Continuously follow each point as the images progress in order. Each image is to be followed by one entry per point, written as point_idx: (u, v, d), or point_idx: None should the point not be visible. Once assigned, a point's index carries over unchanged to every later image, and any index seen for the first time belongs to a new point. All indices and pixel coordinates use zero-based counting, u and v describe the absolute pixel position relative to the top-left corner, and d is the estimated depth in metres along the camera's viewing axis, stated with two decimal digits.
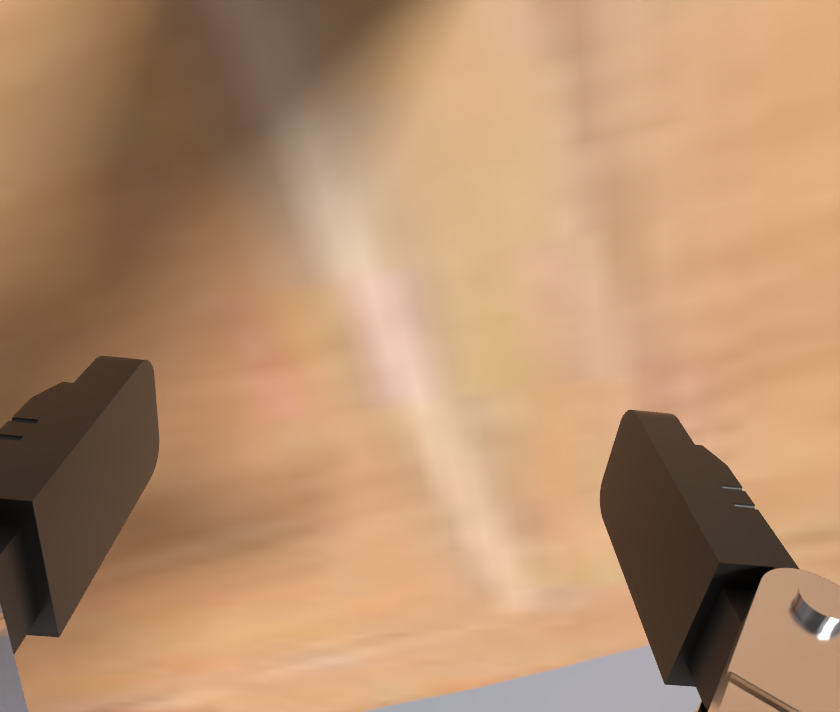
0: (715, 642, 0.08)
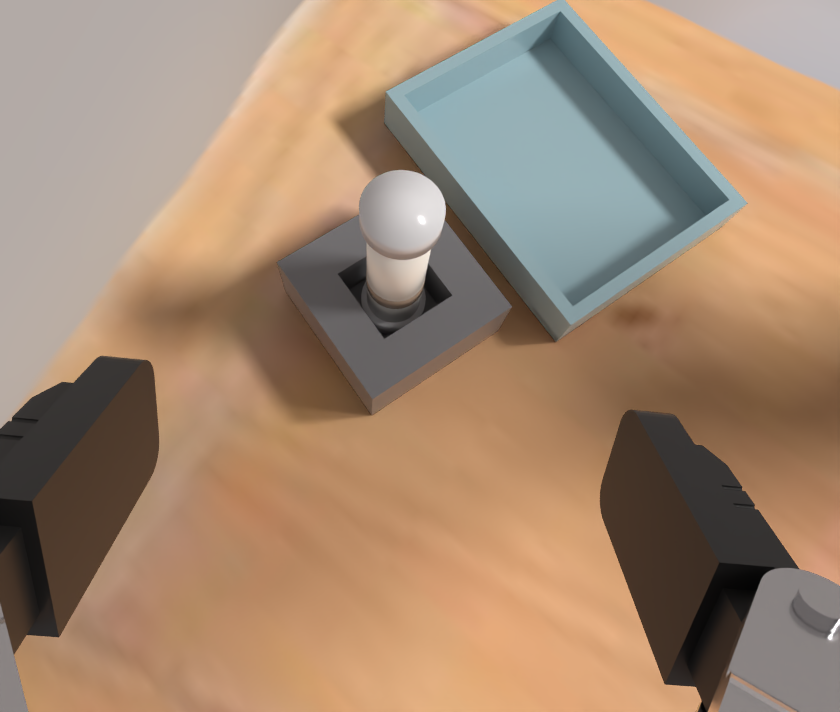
0: (715, 642, 0.08)
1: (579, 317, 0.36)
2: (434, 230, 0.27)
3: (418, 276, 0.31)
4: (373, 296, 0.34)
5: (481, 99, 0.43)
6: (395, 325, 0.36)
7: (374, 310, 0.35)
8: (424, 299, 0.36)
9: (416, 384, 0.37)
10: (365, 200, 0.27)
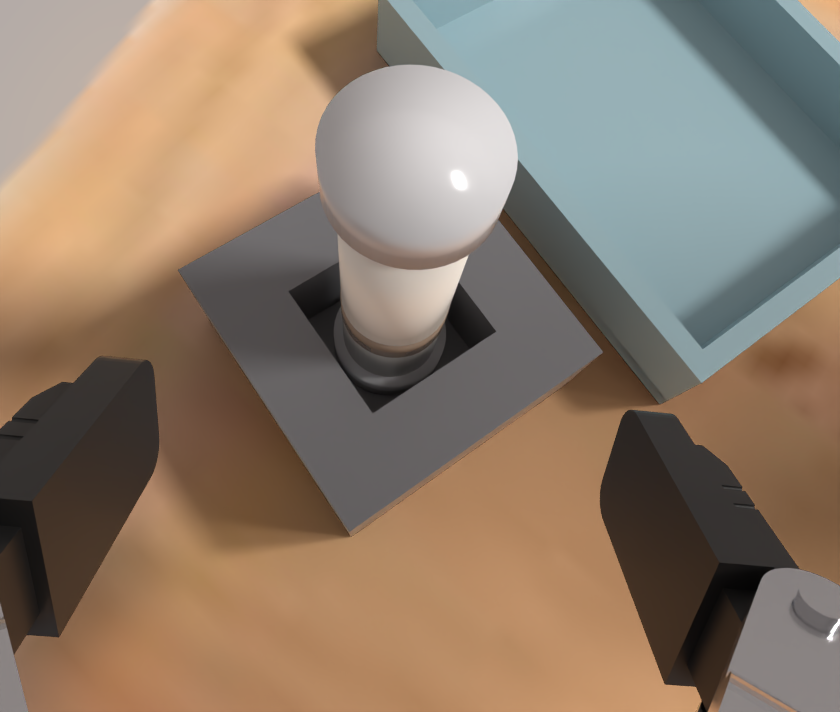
0: (715, 642, 0.08)
1: (715, 369, 0.21)
2: (492, 201, 0.11)
3: (442, 301, 0.15)
4: (353, 334, 0.18)
5: (529, 15, 0.27)
6: (393, 382, 0.20)
7: (356, 356, 0.20)
8: (444, 335, 0.21)
9: (428, 481, 0.21)
10: (330, 129, 0.11)
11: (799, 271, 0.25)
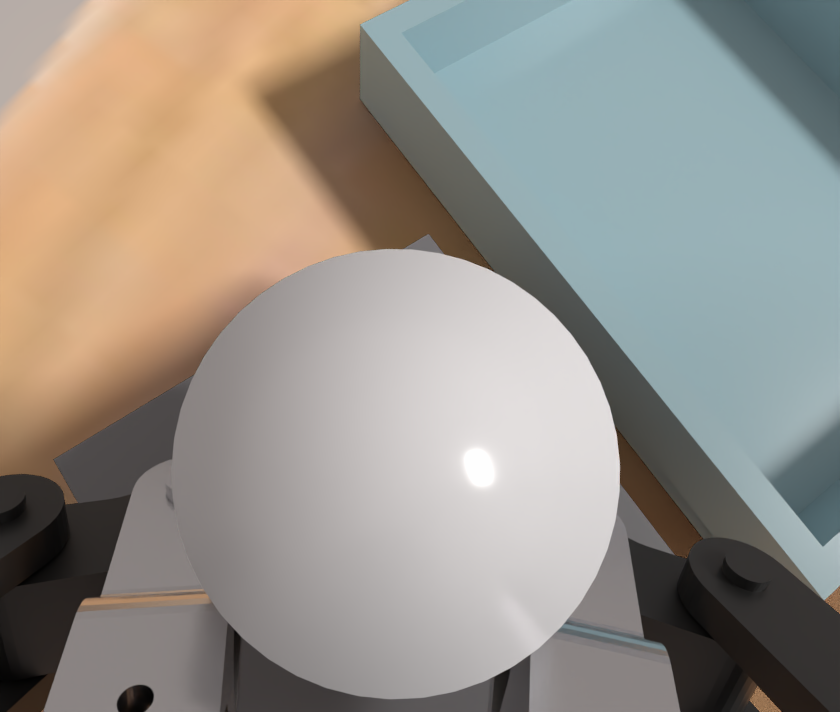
0: None
1: None
2: (570, 581, 0.05)
3: None
4: None
5: (559, 52, 0.21)
6: None
7: None
8: None
9: None
10: (209, 413, 0.05)
11: None
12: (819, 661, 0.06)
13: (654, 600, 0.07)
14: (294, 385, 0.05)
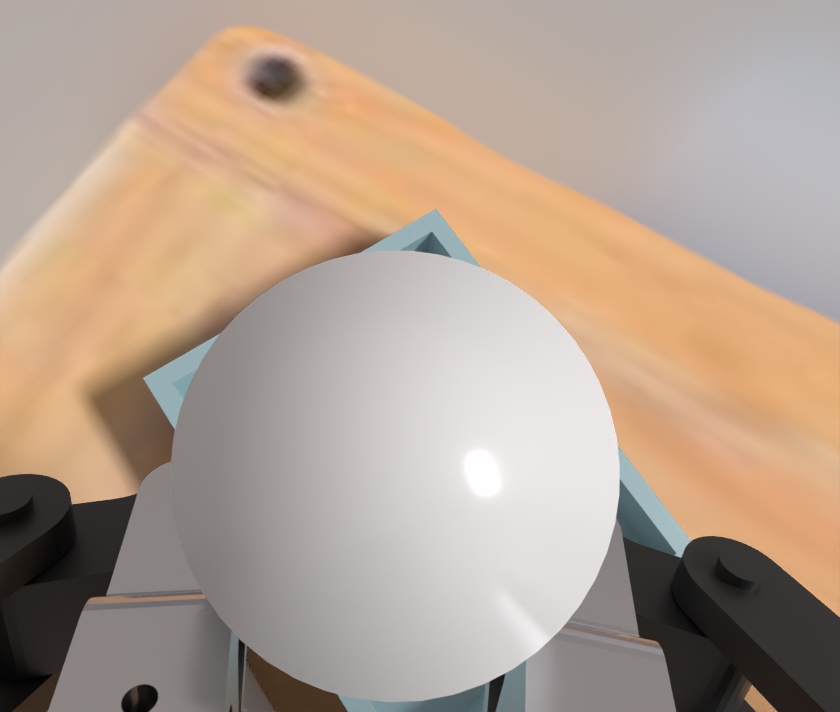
0: None
1: None
2: (570, 584, 0.05)
3: None
4: None
5: None
6: None
7: None
8: None
9: None
10: (208, 415, 0.05)
11: None
12: (813, 659, 0.06)
13: (648, 599, 0.07)
14: (293, 387, 0.05)
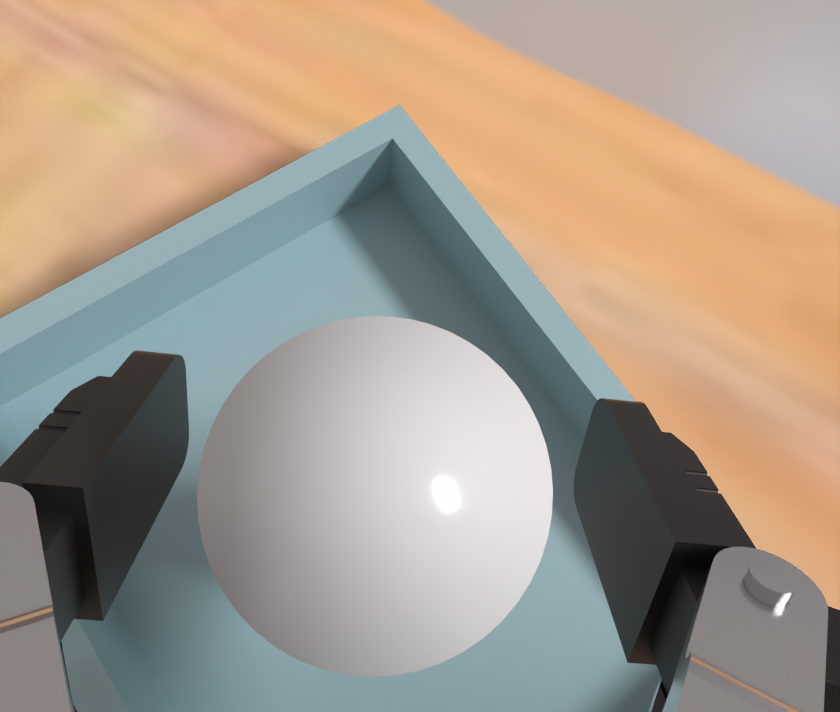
0: (673, 619, 0.08)
1: None
2: (510, 586, 0.06)
3: None
4: None
5: (211, 340, 0.18)
6: None
7: None
8: None
9: None
10: (226, 452, 0.07)
11: None
12: None
13: None
14: (293, 429, 0.07)
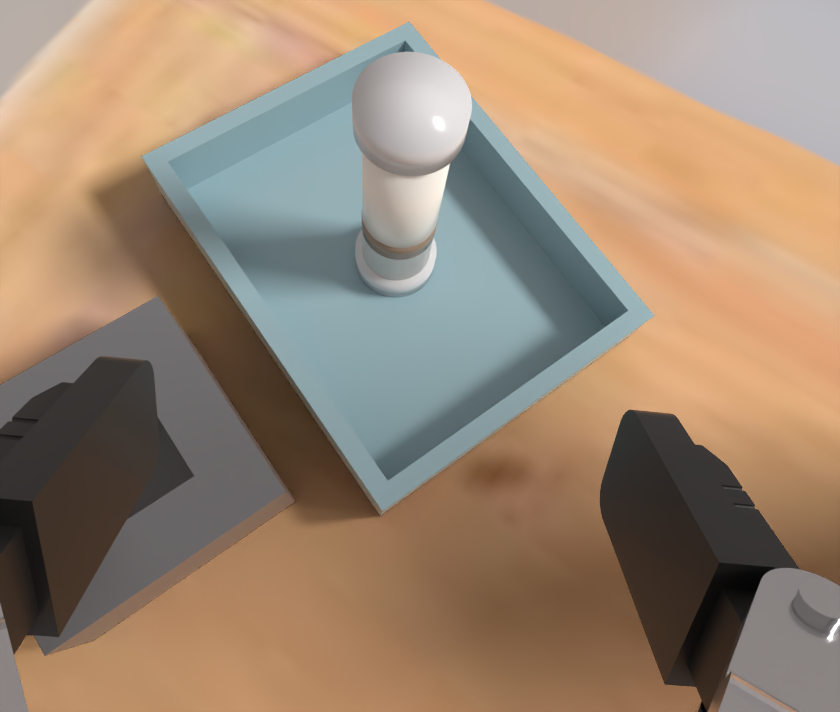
0: (715, 642, 0.08)
1: (396, 498, 0.24)
2: (456, 131, 0.19)
3: (430, 210, 0.23)
4: (370, 242, 0.26)
5: (299, 160, 0.31)
6: (398, 284, 0.28)
7: (372, 264, 0.28)
8: (434, 252, 0.29)
9: (164, 590, 0.25)
10: (360, 90, 0.19)
11: None
12: None
13: None
14: (382, 84, 0.20)
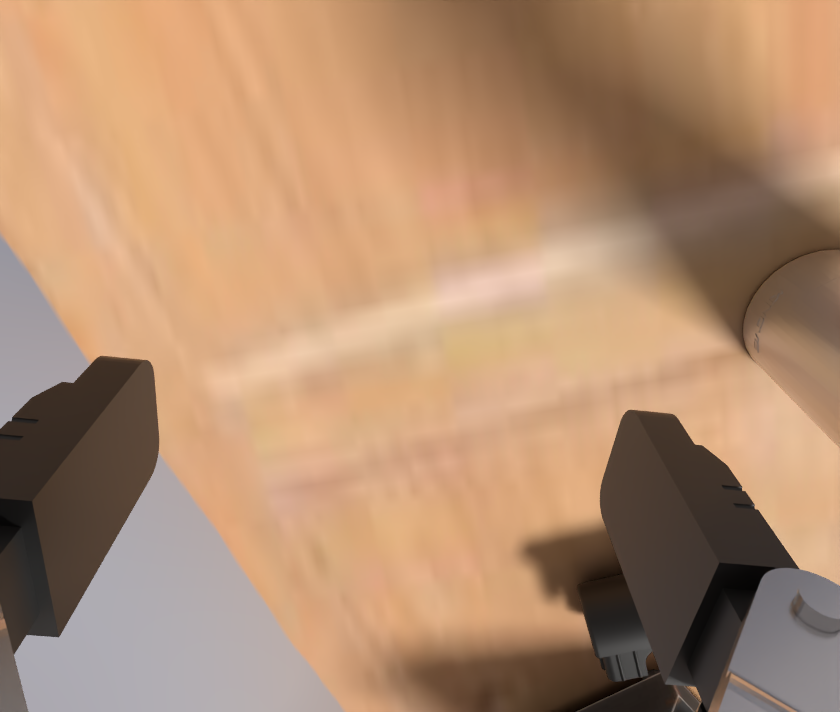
0: (715, 642, 0.08)
1: None
2: None
3: None
4: None
5: None
6: None
7: None
8: None
9: None
10: None
11: None
12: None
13: None
14: None
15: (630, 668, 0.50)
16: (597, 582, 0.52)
